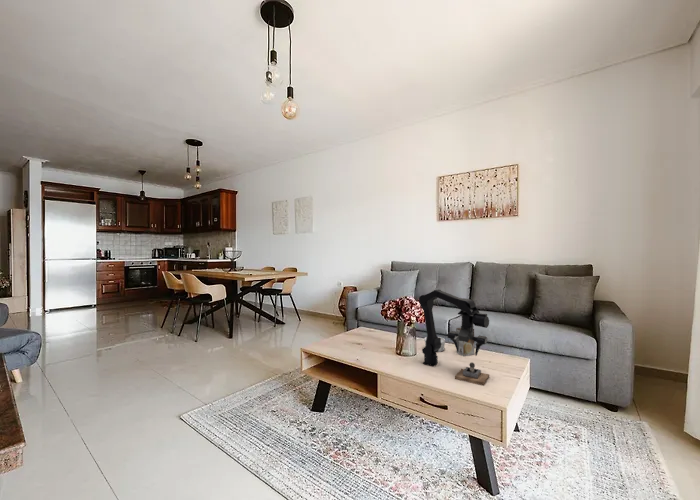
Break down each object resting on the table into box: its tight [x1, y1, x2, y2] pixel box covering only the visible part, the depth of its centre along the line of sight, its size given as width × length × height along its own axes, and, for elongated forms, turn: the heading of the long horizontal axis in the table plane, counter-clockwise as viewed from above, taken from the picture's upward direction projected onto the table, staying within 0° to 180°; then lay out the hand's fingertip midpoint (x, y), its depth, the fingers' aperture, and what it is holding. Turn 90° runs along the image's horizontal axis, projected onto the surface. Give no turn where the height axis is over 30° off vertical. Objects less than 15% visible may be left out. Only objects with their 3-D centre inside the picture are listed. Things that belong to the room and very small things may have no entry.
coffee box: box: [455, 327, 476, 357], centre depth 199 cm, size 9×6×16 cm
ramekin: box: [423, 336, 446, 353], centre depth 208 cm, size 13×13×7 cm
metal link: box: [463, 366, 482, 379], centre depth 162 cm, size 7×7×2 cm
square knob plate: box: [454, 362, 490, 386], centre depth 162 cm, size 14×12×8 cm
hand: (466, 353), depth 166 cm, fingers open, 9 cm apart
